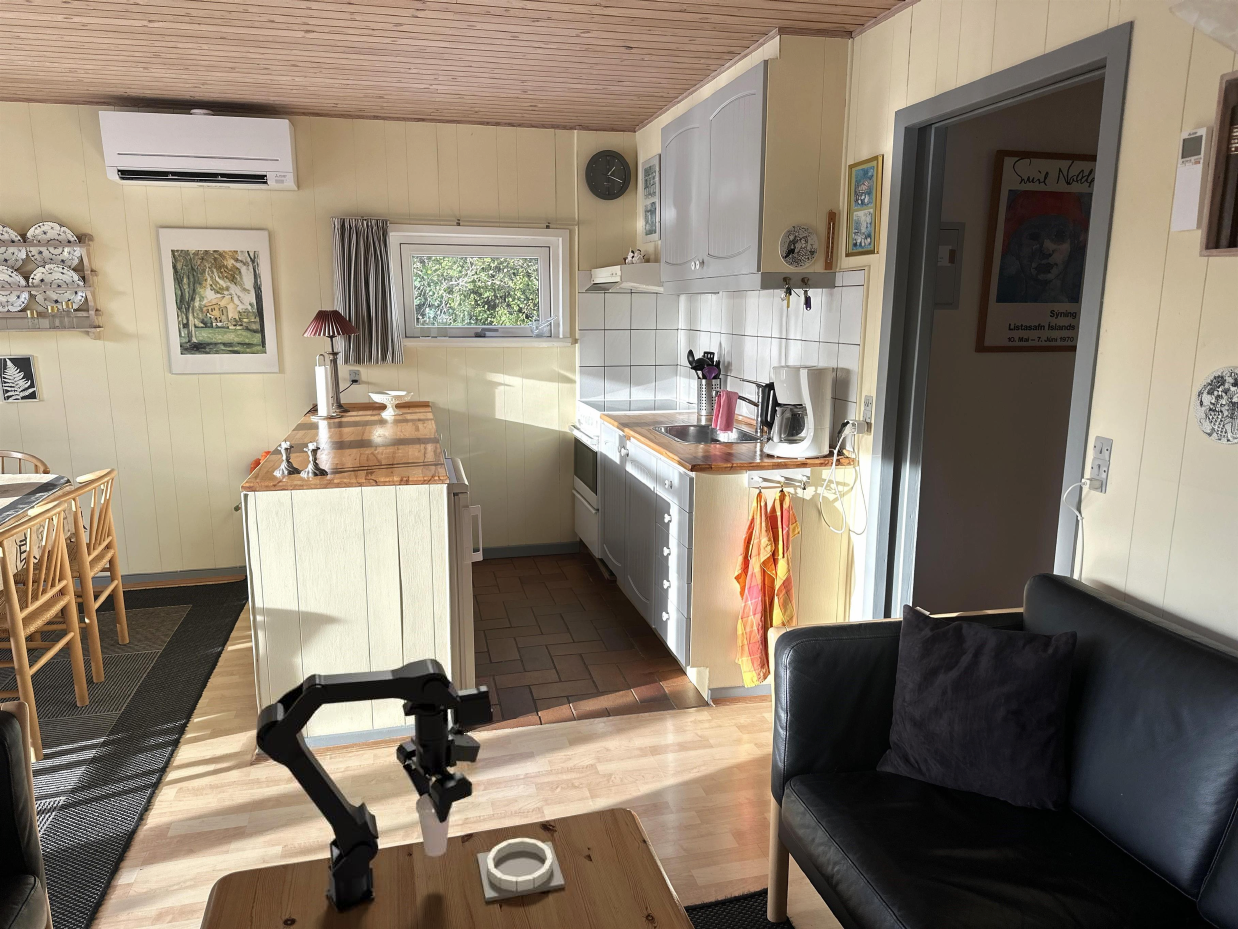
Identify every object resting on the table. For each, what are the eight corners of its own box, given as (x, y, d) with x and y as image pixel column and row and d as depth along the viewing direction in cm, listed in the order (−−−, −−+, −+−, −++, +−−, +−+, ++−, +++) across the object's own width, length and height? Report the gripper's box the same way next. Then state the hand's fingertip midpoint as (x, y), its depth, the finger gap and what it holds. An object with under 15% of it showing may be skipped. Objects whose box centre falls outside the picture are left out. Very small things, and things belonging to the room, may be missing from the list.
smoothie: (409, 854, 153) (406, 783, 150) (433, 834, 158) (431, 765, 155) (438, 866, 150) (435, 794, 147) (461, 845, 155) (459, 775, 152)
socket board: (485, 901, 149) (485, 887, 148) (477, 857, 160) (477, 844, 160) (564, 887, 153) (564, 873, 152) (551, 845, 164) (551, 832, 163)
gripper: (499, 741, 146) (500, 822, 150) (450, 698, 161) (452, 773, 164) (439, 762, 140) (441, 846, 143) (393, 715, 154) (396, 793, 158)
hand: (434, 812), depth 152 cm, fingers closed on smoothie, 6 cm apart
